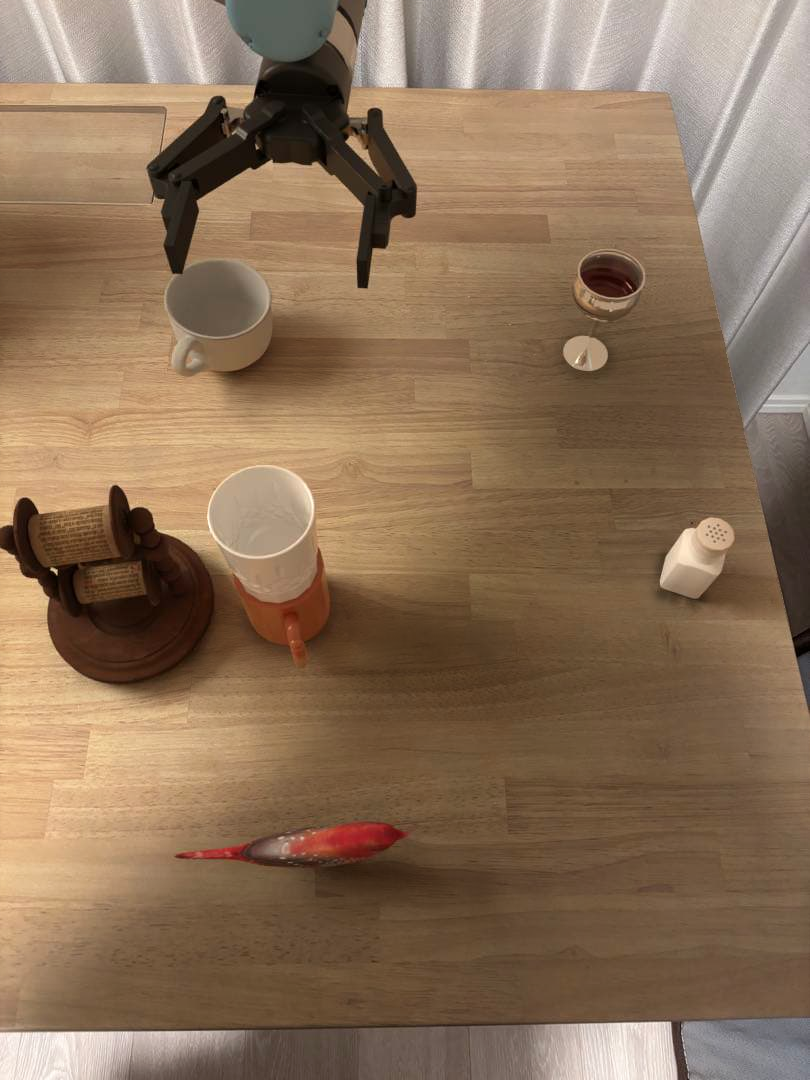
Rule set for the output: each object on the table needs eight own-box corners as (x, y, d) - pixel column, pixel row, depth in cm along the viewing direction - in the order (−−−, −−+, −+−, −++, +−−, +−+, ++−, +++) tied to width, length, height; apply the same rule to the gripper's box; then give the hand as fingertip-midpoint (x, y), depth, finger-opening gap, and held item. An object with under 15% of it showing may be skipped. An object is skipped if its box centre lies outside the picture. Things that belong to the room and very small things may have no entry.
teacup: (225, 294, 94) (211, 240, 87) (299, 338, 92) (291, 286, 85) (140, 373, 89) (118, 323, 82) (216, 422, 87) (201, 375, 79)
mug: (242, 580, 79) (225, 538, 70) (319, 561, 80) (312, 518, 72) (264, 686, 74) (248, 654, 66) (346, 664, 75) (341, 630, 67)
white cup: (230, 529, 71) (207, 468, 62) (321, 521, 71) (312, 460, 62) (231, 615, 67) (207, 563, 58) (327, 605, 68) (318, 553, 59)
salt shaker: (697, 602, 78) (735, 560, 70) (656, 589, 79) (688, 545, 70) (705, 566, 80) (743, 521, 72) (665, 553, 81) (697, 507, 72)
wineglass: (573, 385, 89) (598, 308, 79) (544, 340, 92) (564, 260, 81) (627, 365, 91) (659, 287, 80) (596, 322, 94) (623, 240, 83)
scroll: (212, 531, 81) (161, 413, 63) (223, 675, 74) (170, 588, 56) (58, 553, 79) (-39, 438, 62) (56, 702, 73) (-53, 622, 55)
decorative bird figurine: (408, 864, 68) (411, 851, 59) (190, 883, 67) (160, 872, 58) (406, 827, 69) (408, 809, 60) (192, 845, 68) (162, 829, 59)
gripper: (453, 128, 72) (438, 317, 62) (168, 107, 72) (110, 291, 62) (460, 43, 65) (444, 240, 55) (145, 20, 65) (76, 212, 56)
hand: (267, 268), depth 59 cm, fingers open, 13 cm apart
